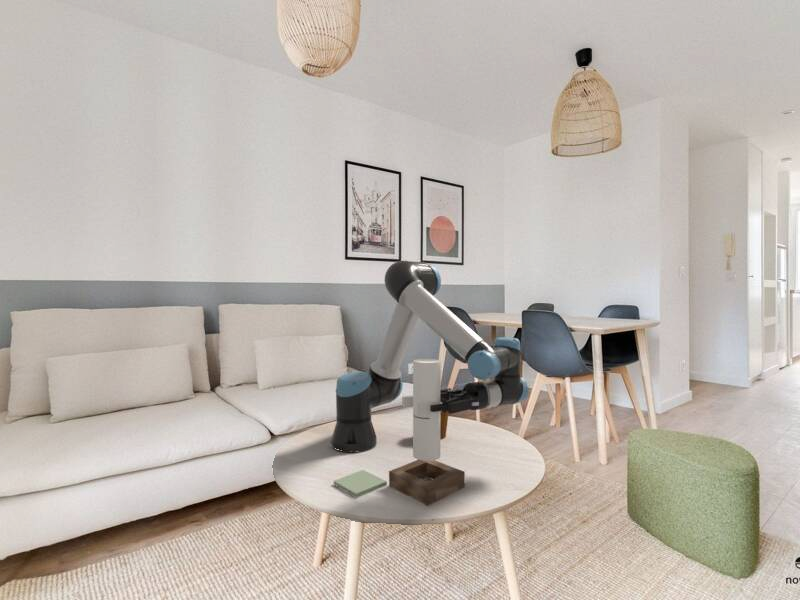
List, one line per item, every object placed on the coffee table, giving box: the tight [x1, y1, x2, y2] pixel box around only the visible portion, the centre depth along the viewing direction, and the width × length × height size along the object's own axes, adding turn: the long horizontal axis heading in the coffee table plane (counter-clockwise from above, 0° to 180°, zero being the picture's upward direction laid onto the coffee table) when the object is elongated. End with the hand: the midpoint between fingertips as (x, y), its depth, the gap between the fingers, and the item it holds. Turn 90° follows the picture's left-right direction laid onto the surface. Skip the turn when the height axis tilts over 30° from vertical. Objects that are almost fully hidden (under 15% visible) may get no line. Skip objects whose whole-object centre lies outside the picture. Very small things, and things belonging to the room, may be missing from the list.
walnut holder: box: [388, 459, 466, 506], centre depth 110 cm, size 14×14×4 cm
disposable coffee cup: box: [440, 402, 449, 440], centre depth 149 cm, size 10×10×12 cm
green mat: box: [333, 469, 387, 498], centre depth 112 cm, size 10×10×1 cm
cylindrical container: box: [412, 357, 442, 461], centre depth 110 cm, size 7×7×25 cm
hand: (410, 405), depth 108 cm, fingers closed on cylindrical container, 7 cm apart
